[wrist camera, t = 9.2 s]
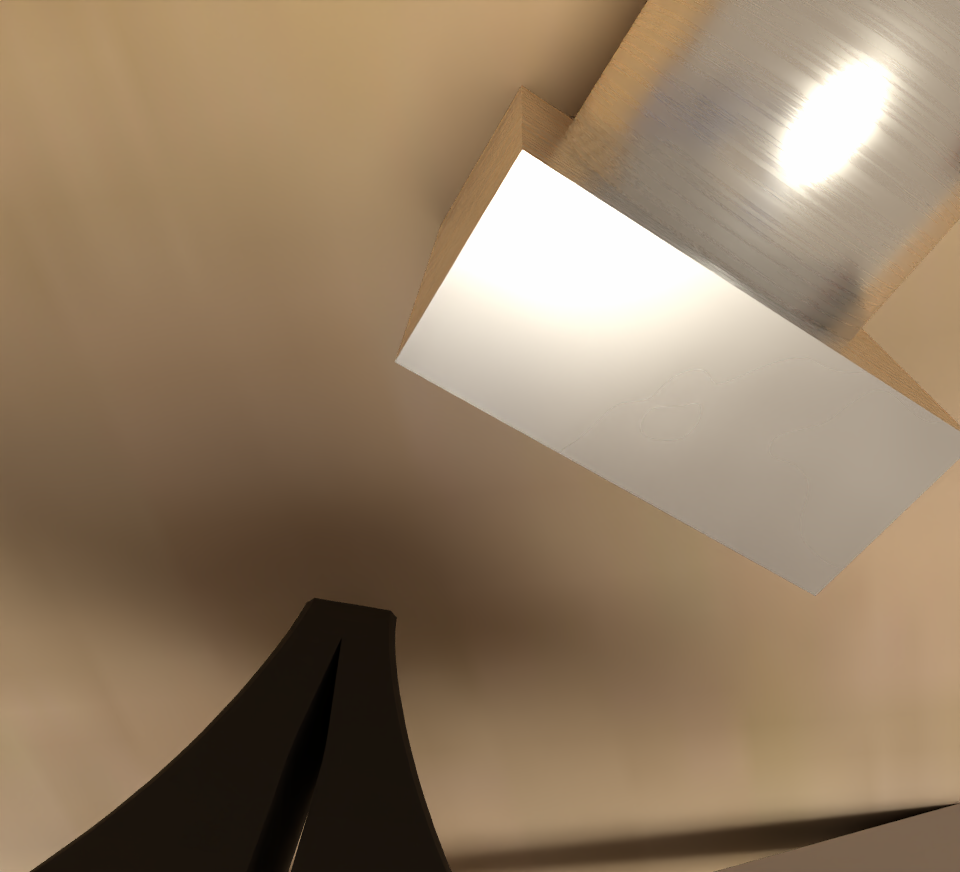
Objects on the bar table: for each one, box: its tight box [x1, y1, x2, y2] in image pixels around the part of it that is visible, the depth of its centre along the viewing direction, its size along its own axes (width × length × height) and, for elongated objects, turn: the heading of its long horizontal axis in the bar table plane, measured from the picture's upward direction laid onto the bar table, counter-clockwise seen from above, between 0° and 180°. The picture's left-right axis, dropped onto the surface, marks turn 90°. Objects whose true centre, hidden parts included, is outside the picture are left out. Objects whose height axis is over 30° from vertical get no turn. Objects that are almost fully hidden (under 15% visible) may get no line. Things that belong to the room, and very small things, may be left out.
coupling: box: [395, 0, 960, 596], centre depth 8 cm, size 7×5×5 cm, turn 149°
